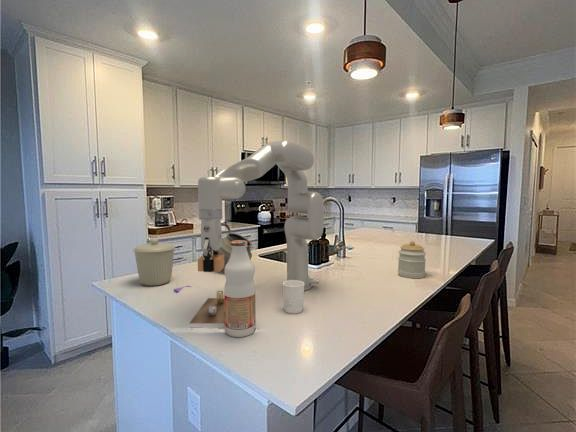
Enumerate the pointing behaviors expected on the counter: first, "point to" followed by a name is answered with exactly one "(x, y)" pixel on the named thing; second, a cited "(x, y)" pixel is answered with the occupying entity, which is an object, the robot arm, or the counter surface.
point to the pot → (226, 244)
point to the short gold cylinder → (219, 297)
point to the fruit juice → (239, 292)
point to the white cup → (293, 296)
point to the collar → (217, 263)
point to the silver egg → (212, 311)
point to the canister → (154, 262)
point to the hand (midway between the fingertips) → (211, 268)
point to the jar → (411, 261)
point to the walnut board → (203, 313)
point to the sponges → (180, 289)
